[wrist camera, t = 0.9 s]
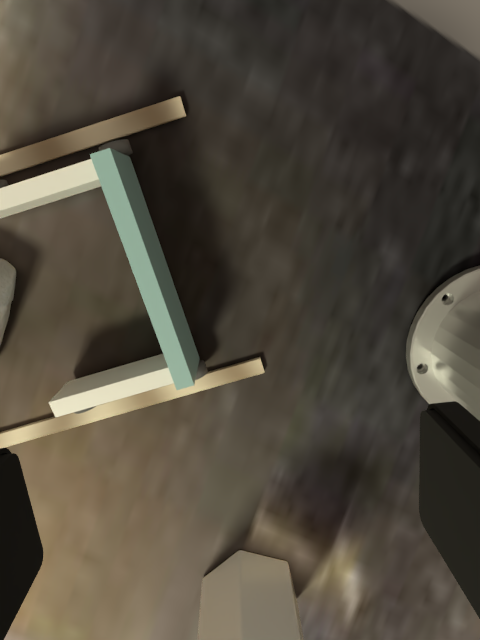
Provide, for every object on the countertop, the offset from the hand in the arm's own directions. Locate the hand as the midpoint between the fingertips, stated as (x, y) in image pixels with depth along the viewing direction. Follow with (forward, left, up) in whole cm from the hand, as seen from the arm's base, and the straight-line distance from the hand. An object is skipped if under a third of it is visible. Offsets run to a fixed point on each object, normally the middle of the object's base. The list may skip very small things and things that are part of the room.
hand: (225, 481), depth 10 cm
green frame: (+9, -3, -23) cm, 24 cm away
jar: (+6, +27, -23) cm, 36 cm away
